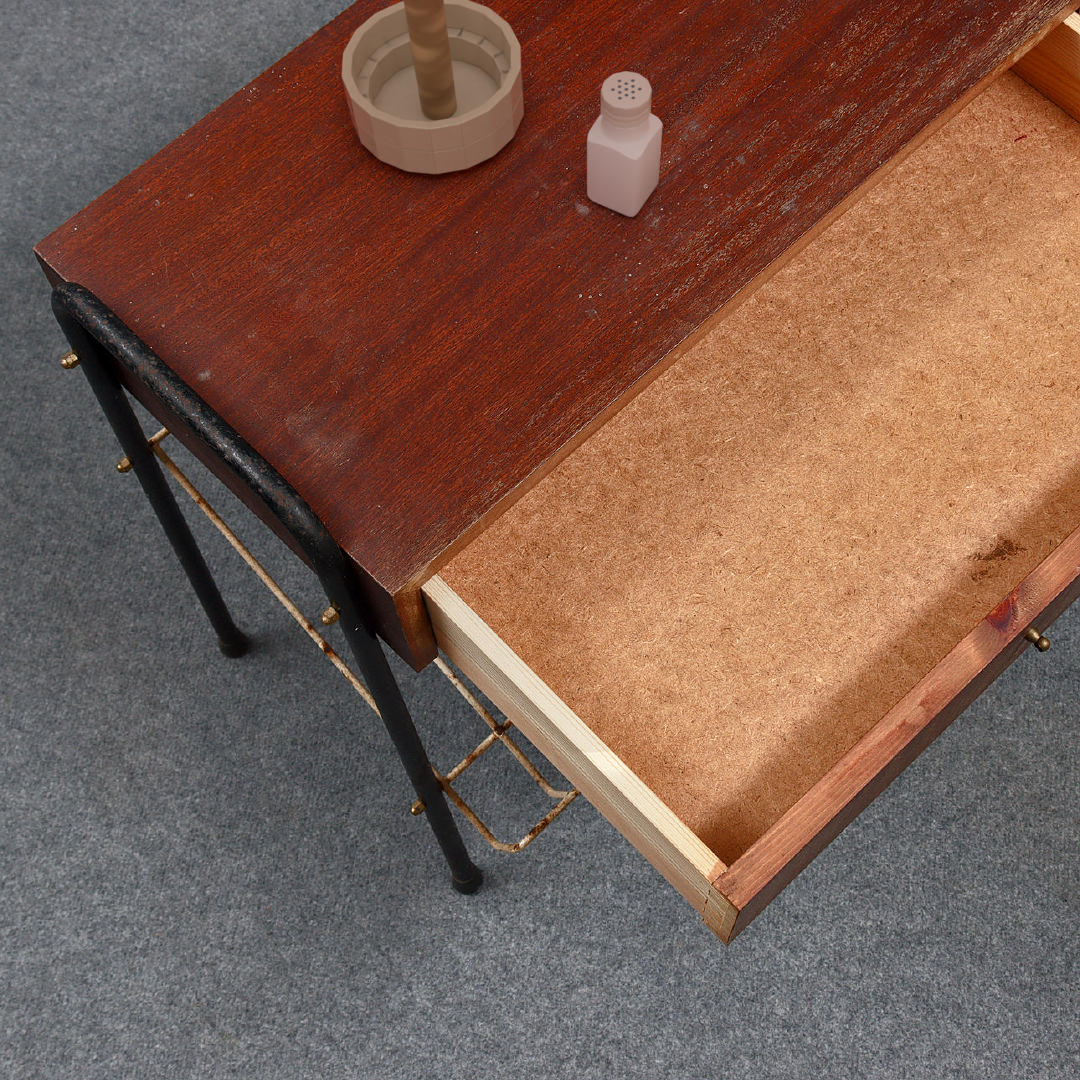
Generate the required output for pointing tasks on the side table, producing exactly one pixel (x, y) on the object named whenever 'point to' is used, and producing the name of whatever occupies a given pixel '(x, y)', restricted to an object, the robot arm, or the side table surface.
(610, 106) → the salt shaker
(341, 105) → the side table surface
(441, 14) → the stirring stick
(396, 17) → the bowl
